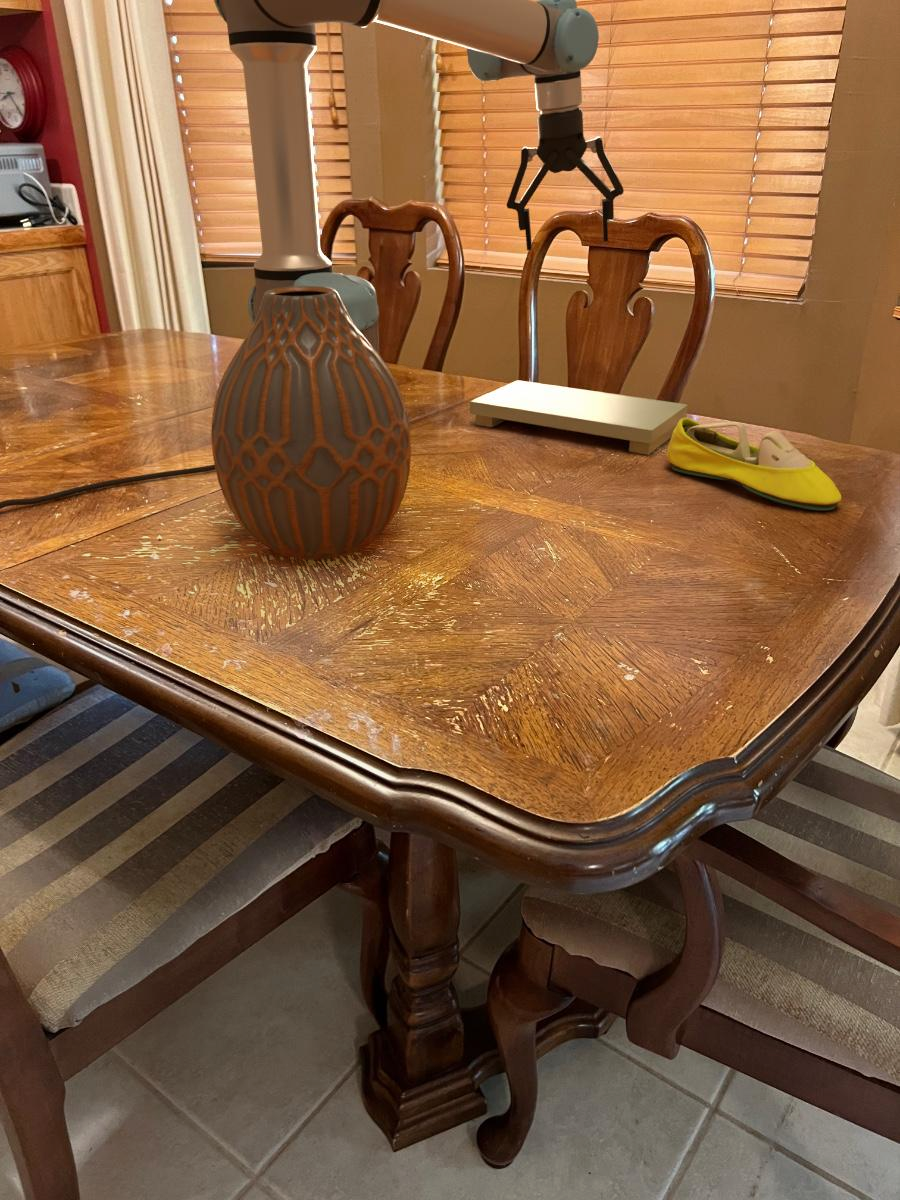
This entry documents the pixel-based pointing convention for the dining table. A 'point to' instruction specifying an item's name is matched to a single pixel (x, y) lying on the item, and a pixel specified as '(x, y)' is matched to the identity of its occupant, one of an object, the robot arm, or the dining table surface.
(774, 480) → the ballet flat
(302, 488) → the vase
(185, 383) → the dining table surface
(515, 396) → the low footed display riser
